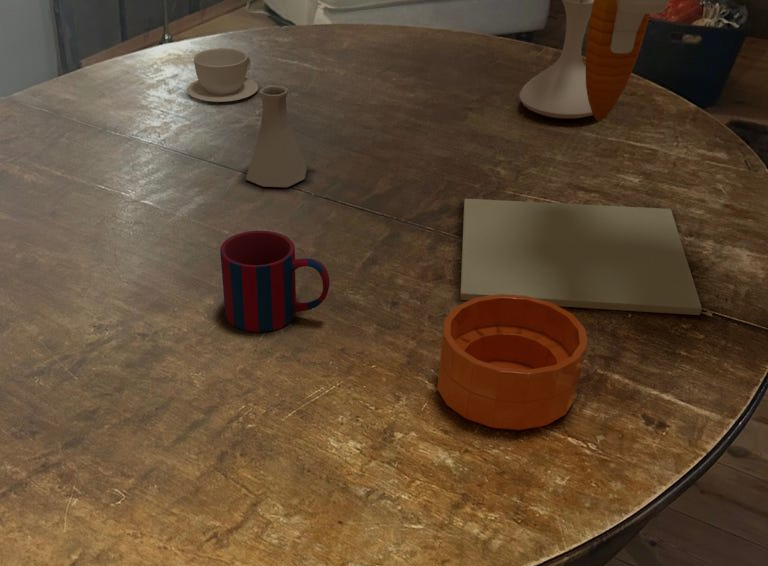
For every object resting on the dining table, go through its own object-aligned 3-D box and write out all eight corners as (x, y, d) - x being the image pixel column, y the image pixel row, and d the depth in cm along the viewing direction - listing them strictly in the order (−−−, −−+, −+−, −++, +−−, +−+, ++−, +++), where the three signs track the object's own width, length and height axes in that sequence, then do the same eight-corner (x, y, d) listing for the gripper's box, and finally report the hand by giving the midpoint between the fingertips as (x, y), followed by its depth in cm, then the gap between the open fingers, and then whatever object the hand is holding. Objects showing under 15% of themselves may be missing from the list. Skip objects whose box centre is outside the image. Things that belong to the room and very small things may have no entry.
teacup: (217, 111, 125) (215, 75, 122) (173, 92, 130) (169, 57, 127) (273, 91, 130) (272, 56, 126) (227, 73, 135) (225, 40, 132)
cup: (245, 288, 91) (241, 224, 86) (339, 310, 88) (340, 245, 83) (212, 323, 87) (206, 257, 82) (310, 347, 83) (309, 280, 79)
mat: (669, 215, 100) (671, 208, 100) (699, 315, 86) (702, 308, 85) (463, 204, 103) (464, 198, 103) (459, 300, 89) (460, 293, 88)
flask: (316, 168, 111) (316, 83, 104) (291, 194, 106) (289, 106, 99) (262, 159, 113) (259, 75, 106) (235, 183, 108) (229, 96, 102)
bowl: (568, 358, 81) (581, 298, 77) (577, 439, 73) (592, 378, 69) (439, 349, 83) (446, 290, 79) (434, 428, 75) (441, 367, 71)
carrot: (559, 120, 85) (592, -64, 75) (591, 105, 88) (627, -75, 77) (606, 135, 82) (646, -54, 72) (637, 120, 85) (681, -66, 75)
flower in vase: (530, 89, 128) (562, -123, 111) (614, 101, 124) (660, -117, 107) (503, 124, 119) (533, -101, 103) (592, 138, 116) (639, -93, 99)
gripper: (723, -126, 63) (671, 83, 72) (679, -174, 78) (640, 4, 87) (627, -126, 64) (587, 80, 73) (601, -174, 79) (571, 3, 88)
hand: (616, 38), depth 80 cm, fingers closed on carrot, 5 cm apart
